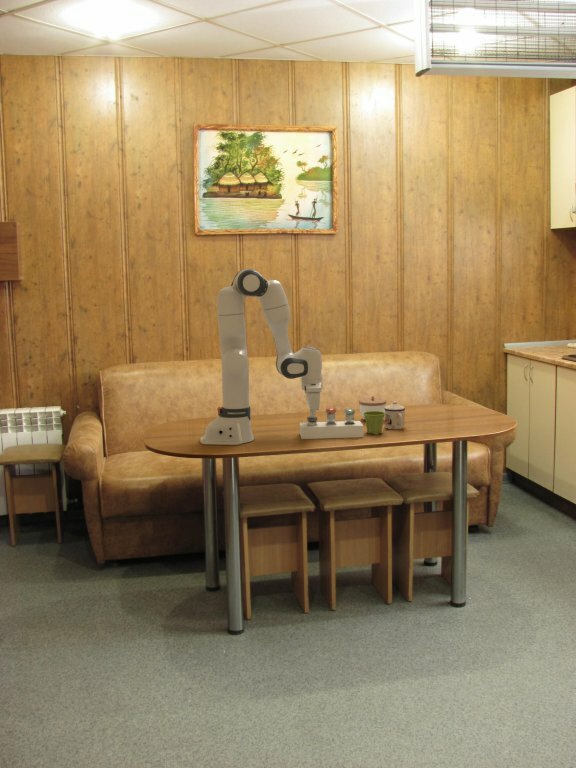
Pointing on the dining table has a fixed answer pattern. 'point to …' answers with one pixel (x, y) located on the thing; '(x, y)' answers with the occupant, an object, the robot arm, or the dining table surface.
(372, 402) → the lidded bowl
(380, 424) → the plant pot
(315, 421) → the plug
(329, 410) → the brick-red plug
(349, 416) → the plug
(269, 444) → the dining table surface
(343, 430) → the block
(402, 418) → the printed white mug
